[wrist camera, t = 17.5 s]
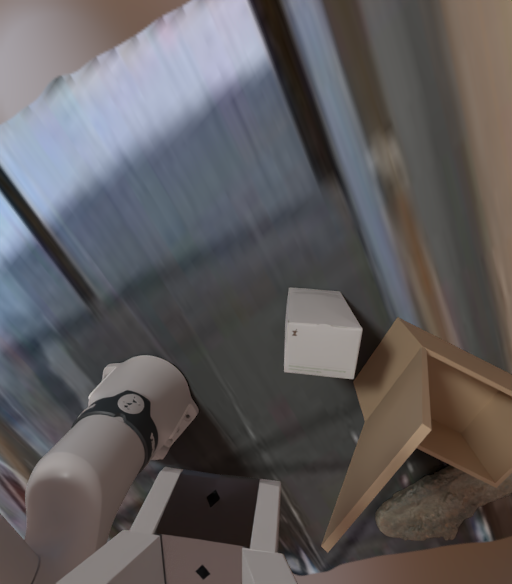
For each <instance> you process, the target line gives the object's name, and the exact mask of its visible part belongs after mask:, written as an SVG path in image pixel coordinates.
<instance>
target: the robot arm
mask: <svg viewBox="0 0 512 584" xmlns="http://www.w3.org/2000/svg"><path fill="white" fill-rule="evenodd" d="M88 398H89V403H88V408H86V409H85V410H84V411H83V412H82V413H81V414H80V415H79V417H78V418H77V419H76V421H75V422H74V423H73V425H72V427H71V430H70V431H69V432H68V433H67V434H66V435H65V436H64V437H63V438H62V439H61V440H60V441H59V442H58V443H57V444H56V445H55V446H54V447H53V448H52V449H51V450H50V451H49V452H48V453H47V454H46V455H45V456H44V457H43V458H42V459H41V460H40V461H39V462H38V463H37V465H36V466H35V468H34V470H33V472H32V474H31V476H30V478H29V481H28V484H27V487H26V494H25V503H26V514H27V529H26V535H25V540H23V539H22V537H21V536H20V535H19V534H18V533H17V532H16V531H15V530H14V528H13V527H12V526H11V525H10V524H9V523H8V522H7V521H6V519H5V518H4V517H3V516H2V515H1V514H0V584H297V581H296V580H295V577H294V575H293V573H292V571H291V569H290V567H289V565H288V563H287V560H286V558H285V556H284V554H281V553H278V542H279V518H280V495H281V482H280V481H274V480H266V479H259V478H250V477H240V476H231V475H218V474H211V473H204V472H198V471H191V470H185V469H184V470H183V469H176V468H169V467H164V468H163V469H162V470H161V472H160V473H159V475H158V477H157V478H156V480H155V482H154V484H153V486H152V488H151V490H150V492H149V494H148V496H147V498H146V500H145V502H144V504H143V506H142V507H141V509H140V511H139V513H138V515H137V517H136V519H135V521H134V523H133V525H132V527H131V529H130V531H129V530H123V531H121V532H120V533H119V534H118V535H116V536H115V537H114V538H112V539H111V540H110V541H109V542H107V539H108V535H109V532H110V529H111V526H112V523H113V521H114V518H115V516H116V514H117V512H118V510H119V508H120V506H121V504H122V502H123V500H124V498H125V496H126V494H127V492H128V490H129V488H130V486H131V485H132V483H133V481H134V479H135V478H136V476H137V475H138V474H139V473H140V472H141V471H142V470H143V469H144V468H145V467H146V466H147V464H148V463H149V461H150V460H159V459H162V460H163V459H164V457H165V456H166V454H167V453H168V451H169V449H170V447H171V445H172V444H173V443H174V442H175V441H176V440H177V438H178V437H179V436H180V435H181V434H182V433H183V431H184V430H185V429H186V428H187V427H188V425H189V424H190V423H191V422H192V421H193V420H194V418H195V417H196V416H197V414H198V413H199V409H198V407H197V405H196V404H195V402H194V401H193V399H192V398H191V395H190V391H189V387H188V384H187V382H186V380H185V378H184V376H183V375H182V373H181V372H180V371H179V370H178V369H177V368H176V367H175V366H173V365H172V364H171V363H169V362H168V361H166V360H164V359H161V358H158V357H155V356H149V355H142V356H136V357H133V358H130V359H129V360H127V361H125V362H123V363H114V364H109V365H107V366H106V367H105V369H104V371H103V378H102V382H101V383H100V384H99V385H98V386H97V387H96V388H95V389H94V390H93V391H92V392H91V394H90V395H89V397H88ZM188 415H189V416H188Z"/></svg>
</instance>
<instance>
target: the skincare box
mask: <svg viewBox="0 0 512 584" xmlns="http://www.w3.org/2000/svg"><path fill="white" fill-rule="evenodd" d="M362 331H363V329H362V327H361V326H360V324H359V322H358V321H357V319H356V317H355V316H354V314H353V312H352V311H351V309H350V307H349V306H348V304H347V302H346V301H345V299H344V297H343V296H342V294H341V292H339V291H328V290H317V289H305V288H289V291H288V299H287V308H286V321H285V351H284V372H288V373H299V374H308V375H317V376H326V377H335V378H345V379H354V375H355V370H356V365H357V359H358V354H359V348H360V342H361V336H362Z"/></svg>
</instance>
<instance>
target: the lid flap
mask: <svg viewBox="0 0 512 584" xmlns="http://www.w3.org/2000/svg"><path fill="white" fill-rule="evenodd" d="M431 430H432V428H431V412H430V397H429V381H428V366H427V350H426V349H425V348H423V347H421V348H420V350H419V351H418V352H417V354H416V355H415V356H414V358H413V359H412V360H411V362H410V363H409V364H408V366H407V367H406V368H405V370H404V371H403V372H402V374H401V375H400V376H399V378H398V379H397V380H396V382H395V383H394V384H393V386H392V387H391V388H390V390H389V391H388V392H387V394H386V395H385V396H384V398H383V399H382V400H381V402H380V403H379V405H378V406H377V407H376V409H375V410H374V411H373V413H372V414H371V415H370V417H369V418H368V419H367V421H366V422H365V423H364V426H363V429H362V431H361V434H360V437H359V440H358V443H357V446H356V448H355V451H354V454H353V457H352V460H351V463H350V465H349V468H348V471H347V474H346V477H345V480H344V483H343V485H342V488H341V491H340V494H339V497H338V500H337V502H336V505H335V508H334V511H333V514H332V517H331V519H330V522H329V525H328V528H327V531H326V534H325V536H324V539H323V542H322V545H321V547H322V548H323V549H325V550H326V551H327V552H329V551H330V549H331V548H332V547H333V546H334V545H335V544H336V542H337V541H338V540H339V539H340V538H341V536H342V535H343V534H344V533H345V532H346V531H347V529H348V528H349V527H350V526H351V525H352V523H353V522H354V521H355V520H356V519H357V518H358V516H359V515H360V514H361V513H362V512H363V510H364V509H365V508H366V507H367V506H368V505H369V503H370V502H371V501H372V500H373V499H374V497H375V496H376V495H377V494H378V493H379V492H380V490H381V489H382V488H383V487H384V486H385V484H386V483H387V482H388V481H389V480H390V479H391V477H392V476H393V475H394V474H395V473H396V471H397V470H398V469H399V468H400V467H401V466H402V464H403V463H404V462H405V461H406V460H407V458H408V457H409V456H410V455H411V454H412V453H413V451H414V450H415V449H416V448H417V447H418V445H419V444H420V443H421V442H422V441H423V439H424V438H425V437H426V436H427V435H428V434H429V432H430V431H431Z"/></svg>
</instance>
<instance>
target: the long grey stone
mask: <svg viewBox="0 0 512 584" xmlns="http://www.w3.org/2000/svg"><path fill="white" fill-rule="evenodd" d="M511 493H512V473H511V474H510V475H509V476H508V477H507V478H506V479H505V480H504V481H503V482H502V483H501V484H500V485H499V486H498V487H497V488H495V487H493V486H491V485H489V484H487V483H485V482H483V481H481V480H479V479H477V478H475V477H473V476H471V475H469V474H467V473H465V472H463V471H461V470H459V469H457V468H455V467H453V466H451V465H449V466H447V467H446V468H445V469H441V470H440V471H439V472H435V473H434V474H433V475H426V476H424V478H422V479H420V480H418V481H417V482H415V483H414V484H412V485H410V486H408V487H407V488H404V489H403V490H401V491H398V492H396V493H395V494H393V497H392V498H390V499H388V500H387V501H386V502H384V503H383V504H382V505H381V506H380V507H379V508H378V510H377V512H376V514H375V515H376V516H375V519H376V523H377V525H378V527H379V529H380V531H381V532H382V533H384V534H385V535H387V536H389V537H396V538H402V539H404V540H408V539H409V540H415V541H421V540H422V541H423V540H426V539H427V538H434V537H438V538H440V537H441V536H442V537H443V538H444V539H445V540H448V539H451V540H452V539H454V538H455V537H456V534H457V532H458V527H459V526H460V525H461V523H462V522H463V520H465V519H467V518H471V517H472V516H473V515H474V512H475V511H476V510H477V508H478V507H479V506H483V505H485V504H487V503H489V502H494V501H495V500H497V499H500V498H503V497H506V496H509V495H510V494H511Z"/></svg>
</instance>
